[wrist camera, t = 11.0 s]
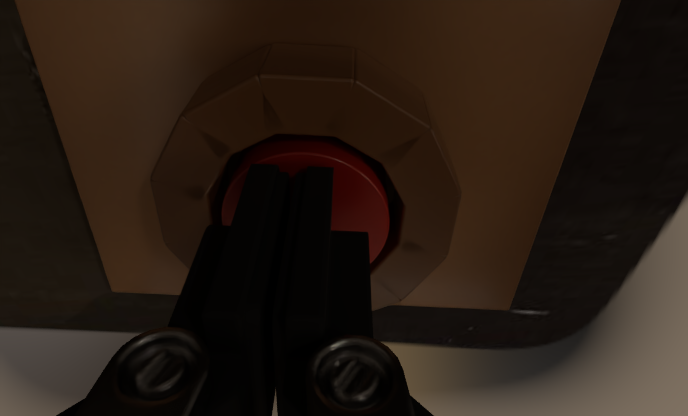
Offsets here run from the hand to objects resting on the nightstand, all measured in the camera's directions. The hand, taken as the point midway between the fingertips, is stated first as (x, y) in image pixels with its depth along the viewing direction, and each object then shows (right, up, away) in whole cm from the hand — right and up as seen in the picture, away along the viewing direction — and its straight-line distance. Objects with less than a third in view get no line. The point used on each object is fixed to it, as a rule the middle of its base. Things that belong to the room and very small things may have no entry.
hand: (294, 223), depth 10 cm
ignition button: (0, +1, +1) cm, 2 cm away
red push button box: (0, +2, +3) cm, 4 cm away
